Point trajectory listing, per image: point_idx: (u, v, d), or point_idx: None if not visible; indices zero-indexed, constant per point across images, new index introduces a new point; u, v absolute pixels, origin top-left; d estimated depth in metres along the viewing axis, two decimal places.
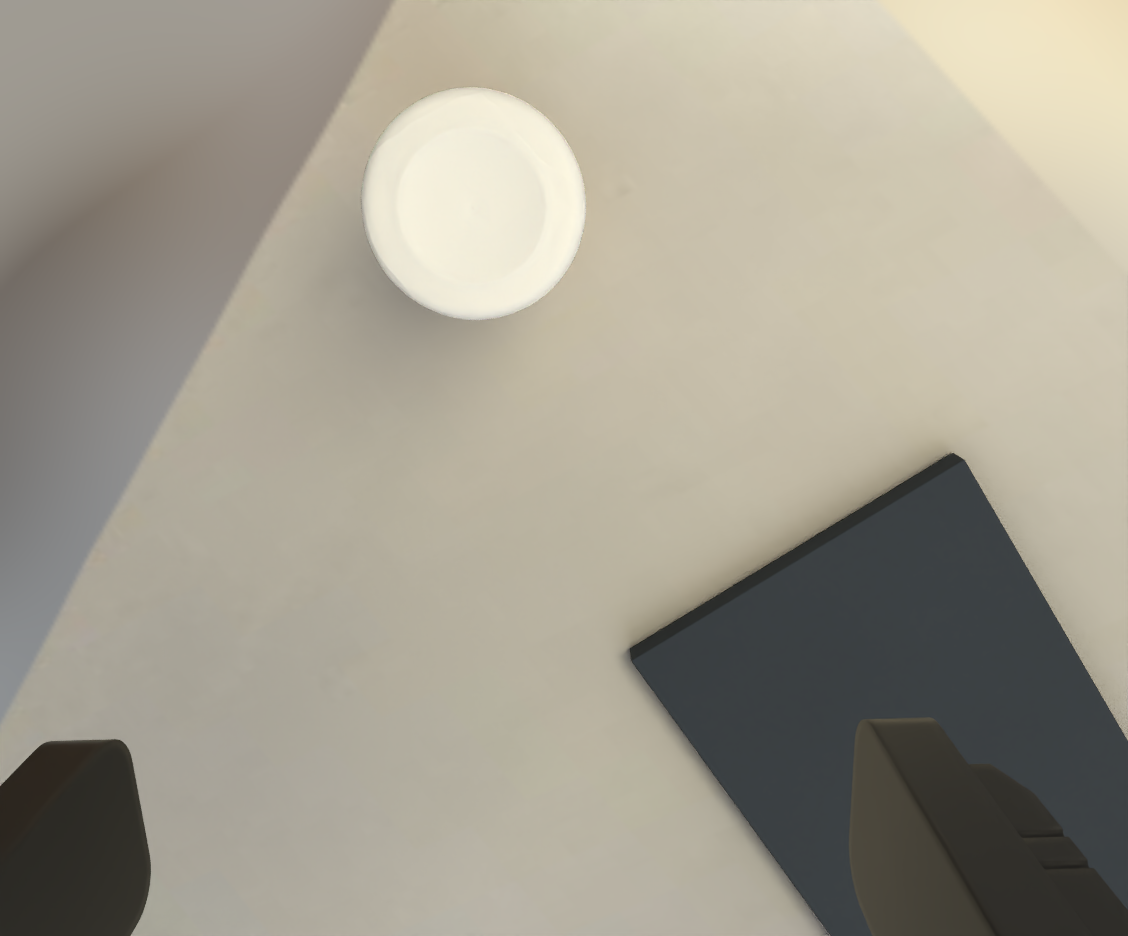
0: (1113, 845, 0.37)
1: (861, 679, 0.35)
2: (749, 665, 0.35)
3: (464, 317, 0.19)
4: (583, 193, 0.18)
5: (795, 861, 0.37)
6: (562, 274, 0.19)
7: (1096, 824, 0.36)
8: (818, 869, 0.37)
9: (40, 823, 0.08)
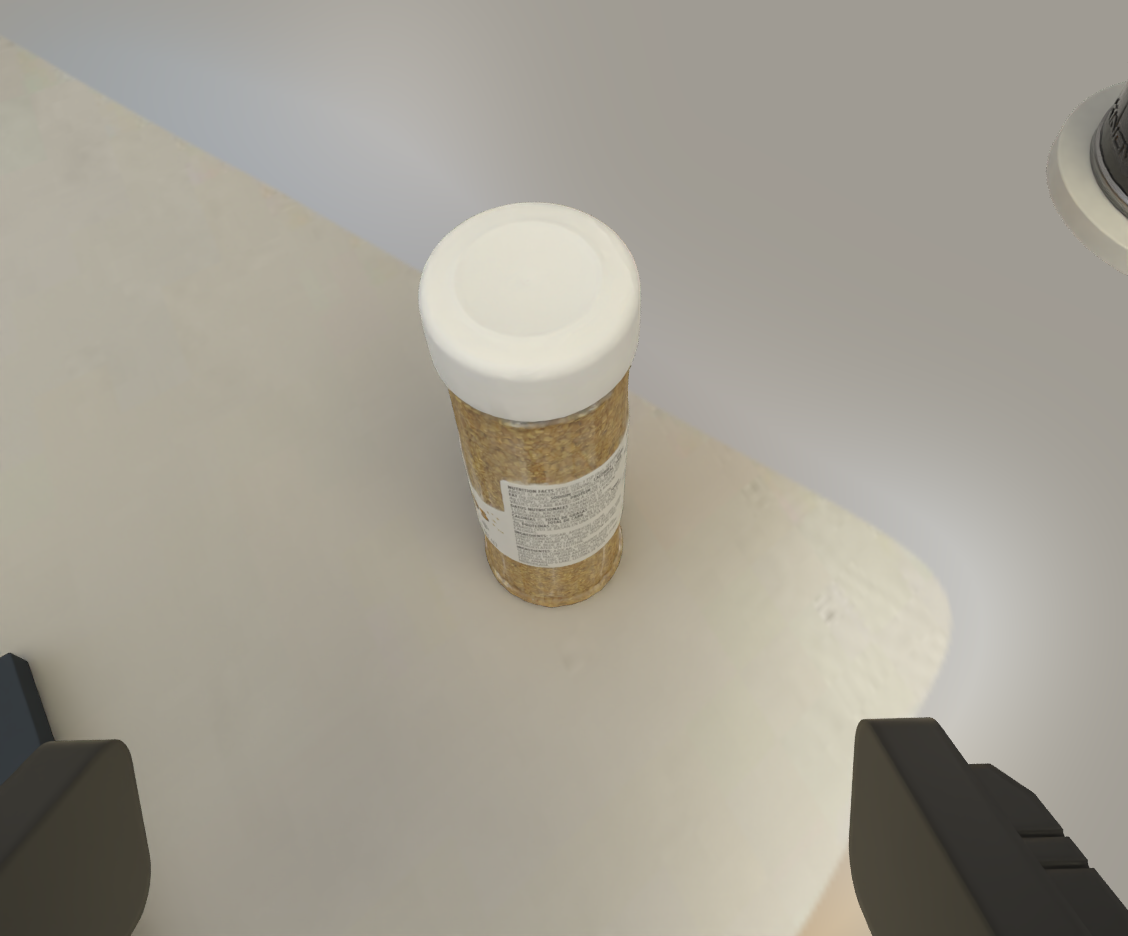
0: None
1: None
2: None
3: (422, 273, 0.19)
4: (536, 377, 0.18)
5: None
6: (455, 357, 0.18)
7: None
8: None
9: (40, 823, 0.08)
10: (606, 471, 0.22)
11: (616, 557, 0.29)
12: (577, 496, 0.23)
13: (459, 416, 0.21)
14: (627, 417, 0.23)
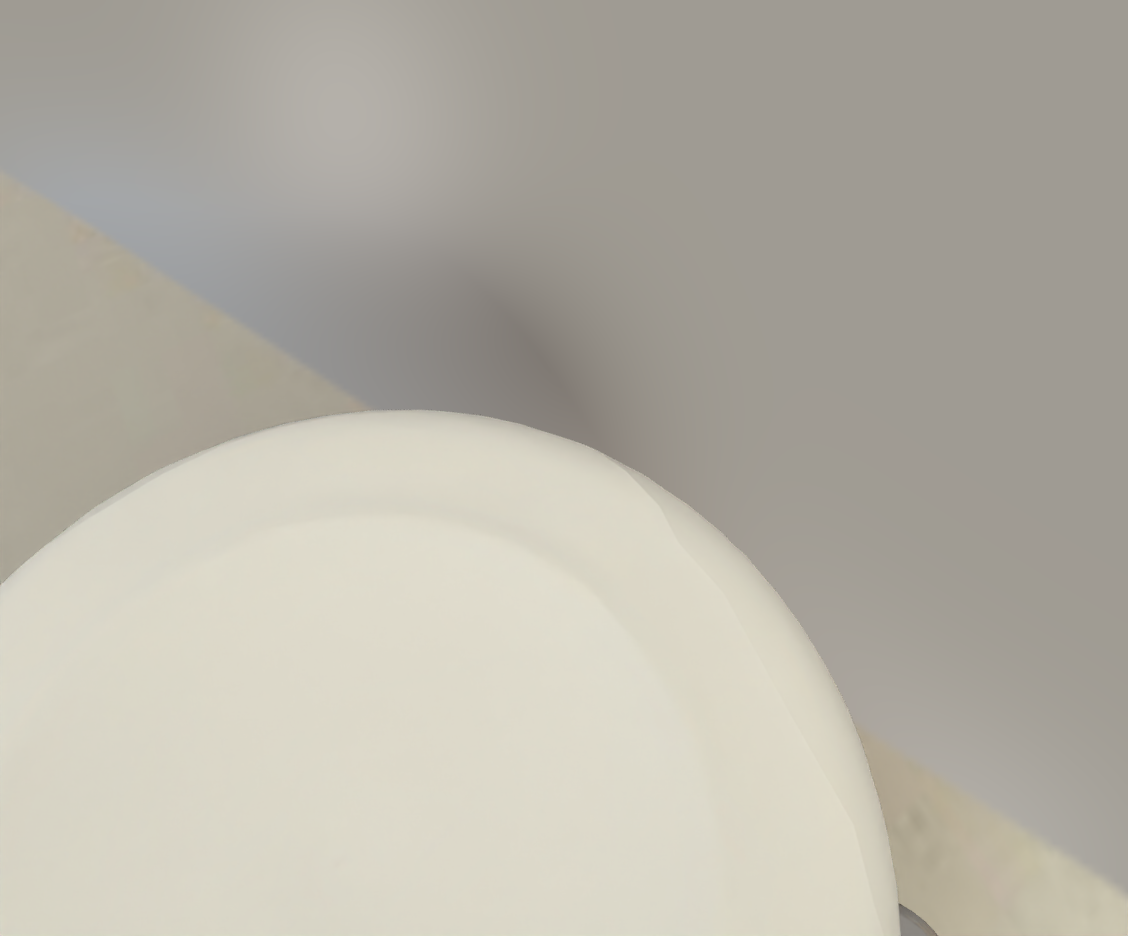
0: None
1: None
2: None
3: None
4: None
5: None
6: None
7: None
8: None
9: None
10: None
11: None
12: None
13: None
14: None
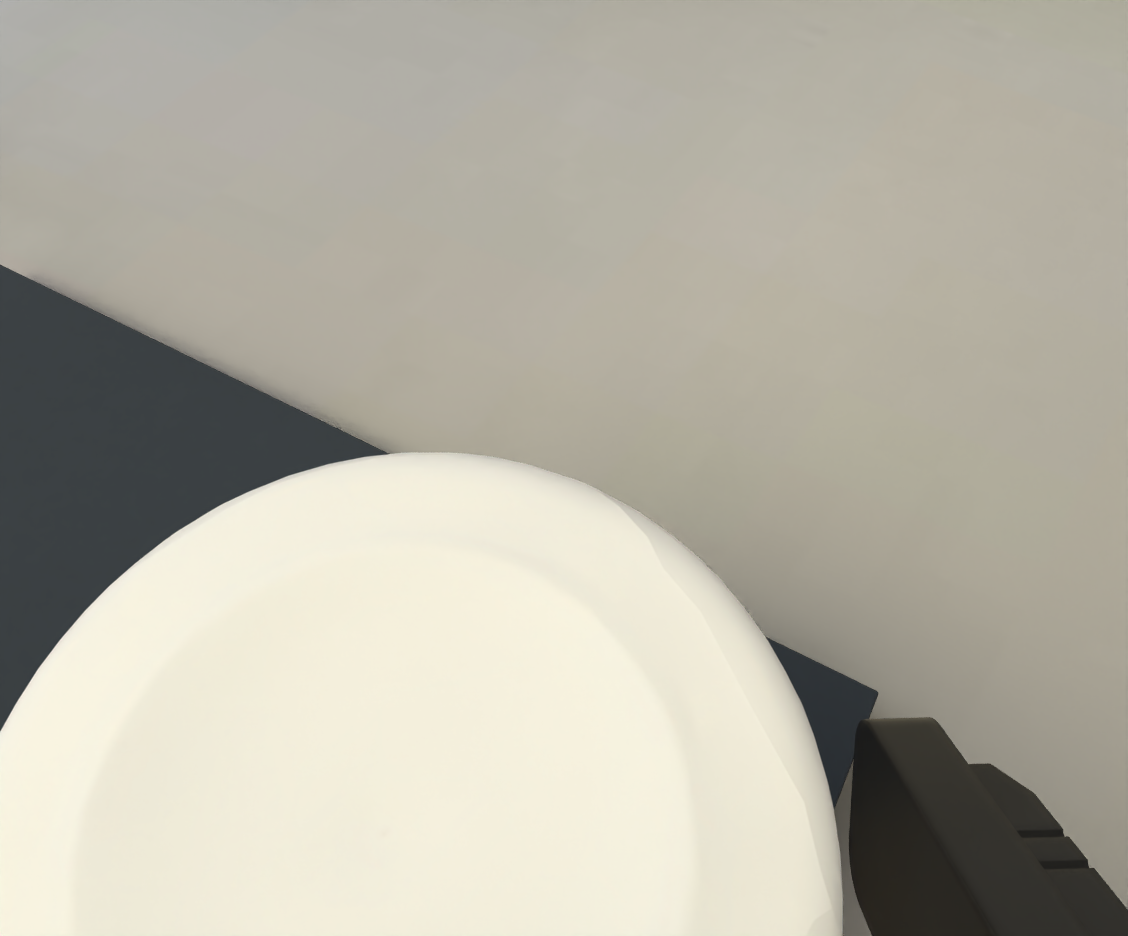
0: None
1: None
2: None
3: None
4: None
5: None
6: None
7: None
8: None
9: None
10: None
11: None
12: None
13: None
14: None
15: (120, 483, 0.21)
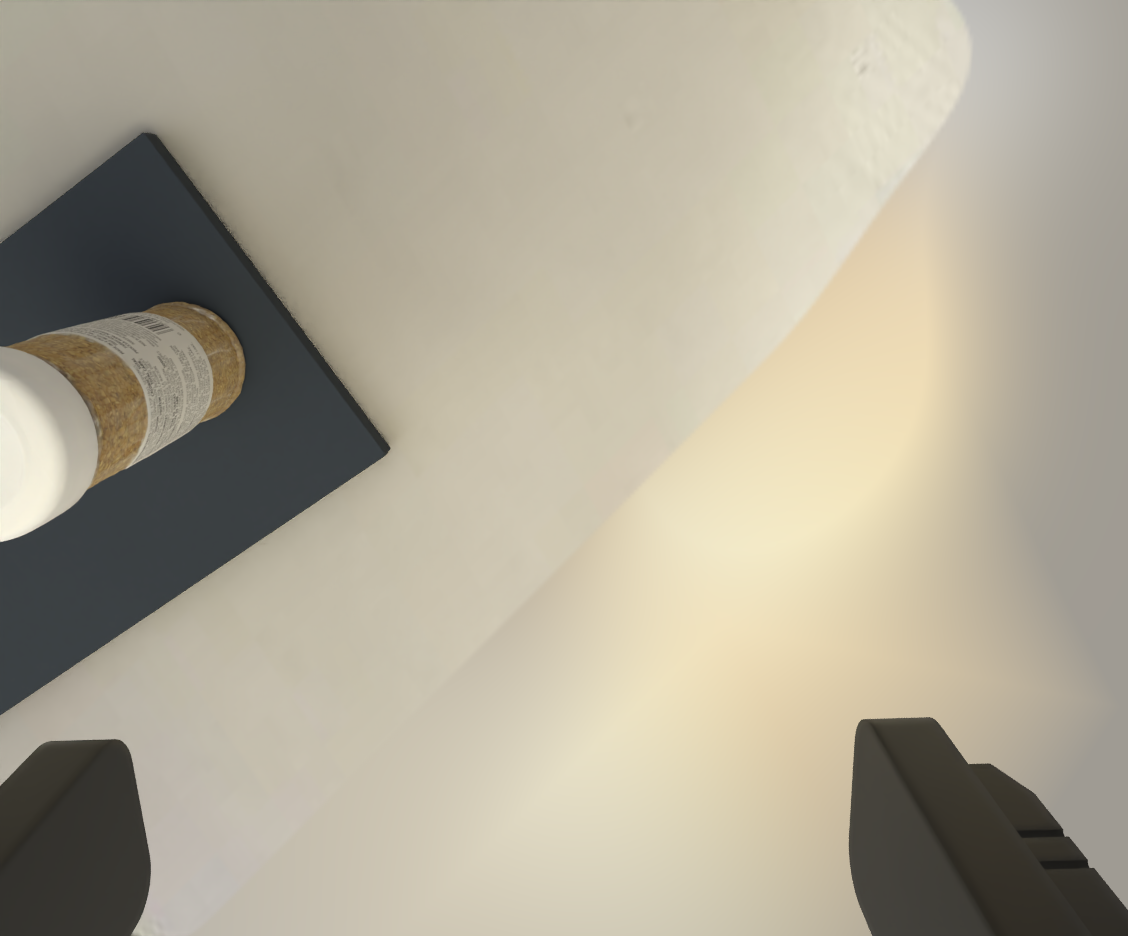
0: (0, 640, 0.37)
1: None
2: (153, 263, 0.33)
3: None
4: (61, 489, 0.22)
5: None
6: (19, 535, 0.22)
7: (21, 622, 0.37)
8: None
9: (40, 823, 0.08)
10: (149, 381, 0.26)
11: (220, 325, 0.33)
12: (161, 409, 0.27)
13: None
14: (106, 348, 0.25)
15: None
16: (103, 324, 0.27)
